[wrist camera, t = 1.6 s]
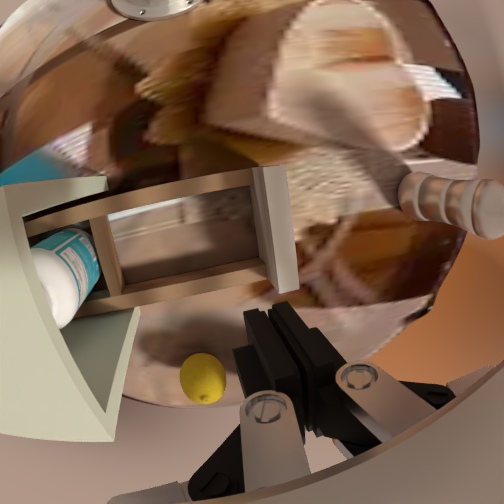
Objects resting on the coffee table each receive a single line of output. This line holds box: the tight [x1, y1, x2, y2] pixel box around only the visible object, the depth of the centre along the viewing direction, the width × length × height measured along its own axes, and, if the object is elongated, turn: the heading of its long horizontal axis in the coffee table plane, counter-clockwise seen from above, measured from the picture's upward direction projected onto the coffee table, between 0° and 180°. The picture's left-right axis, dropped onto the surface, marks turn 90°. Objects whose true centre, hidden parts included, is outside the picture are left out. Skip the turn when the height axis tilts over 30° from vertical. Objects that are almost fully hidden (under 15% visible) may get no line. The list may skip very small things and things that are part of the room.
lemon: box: [180, 353, 226, 404], centre depth 31 cm, size 6×6×8 cm
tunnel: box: [0, 176, 141, 442], centre depth 19 cm, size 12×16×19 cm
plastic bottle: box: [398, 171, 504, 240], centre depth 26 cm, size 6×7×20 cm
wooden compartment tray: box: [24, 165, 299, 318], centre depth 26 cm, size 32×12×7 cm, turn 98°
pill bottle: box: [30, 228, 102, 329], centre depth 22 cm, size 8×7×14 cm
